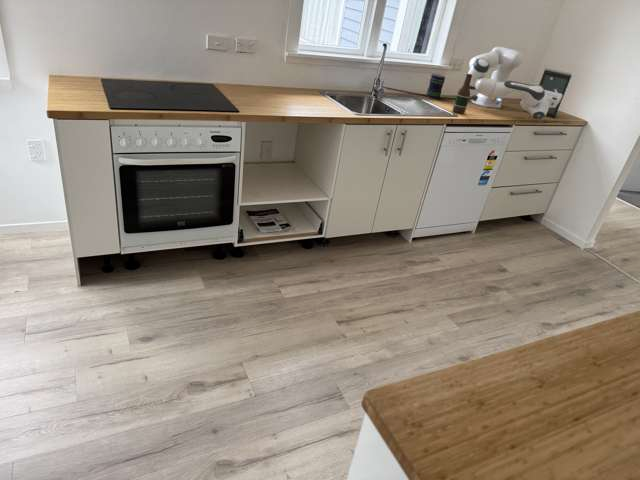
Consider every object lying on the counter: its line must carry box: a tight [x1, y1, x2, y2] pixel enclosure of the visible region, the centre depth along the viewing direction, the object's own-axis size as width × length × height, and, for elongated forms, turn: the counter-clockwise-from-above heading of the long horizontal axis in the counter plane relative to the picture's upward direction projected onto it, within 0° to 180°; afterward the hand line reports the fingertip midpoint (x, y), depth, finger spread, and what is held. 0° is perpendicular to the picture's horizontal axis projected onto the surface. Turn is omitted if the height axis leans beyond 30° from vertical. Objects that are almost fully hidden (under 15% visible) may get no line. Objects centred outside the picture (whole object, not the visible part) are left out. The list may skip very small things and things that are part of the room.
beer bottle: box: [452, 73, 472, 115], centre depth 305 cm, size 8×8×24 cm
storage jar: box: [426, 73, 446, 100], centre depth 339 cm, size 10×10×15 cm
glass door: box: [539, 72, 571, 117], centre depth 341 cm, size 9×17×26 cm, turn 65°
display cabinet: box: [538, 67, 573, 119], centre depth 349 cm, size 14×18×30 cm
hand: (548, 88), depth 330 cm, fingers open, 8 cm apart
